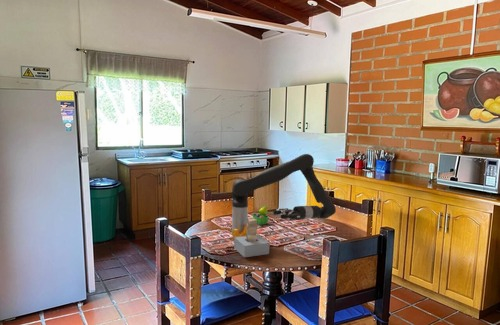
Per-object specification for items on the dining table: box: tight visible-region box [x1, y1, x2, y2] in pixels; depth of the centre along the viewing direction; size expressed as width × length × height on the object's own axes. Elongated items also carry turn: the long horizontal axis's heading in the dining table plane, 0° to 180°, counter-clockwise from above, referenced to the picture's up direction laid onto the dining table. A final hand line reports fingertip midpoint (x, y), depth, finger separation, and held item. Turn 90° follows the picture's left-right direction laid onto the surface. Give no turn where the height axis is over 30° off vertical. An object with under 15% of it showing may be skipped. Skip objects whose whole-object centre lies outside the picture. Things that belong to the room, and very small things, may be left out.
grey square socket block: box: [233, 234, 270, 258], centre depth 188 cm, size 14×14×6 cm
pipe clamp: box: [232, 225, 247, 241], centre depth 209 cm, size 12×4×6 cm, turn 140°
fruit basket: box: [252, 205, 269, 226], centre depth 242 cm, size 11×9×11 cm
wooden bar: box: [246, 218, 258, 242], centre depth 188 cm, size 3×4×16 cm
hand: (277, 214), depth 193 cm, fingers open, 8 cm apart
